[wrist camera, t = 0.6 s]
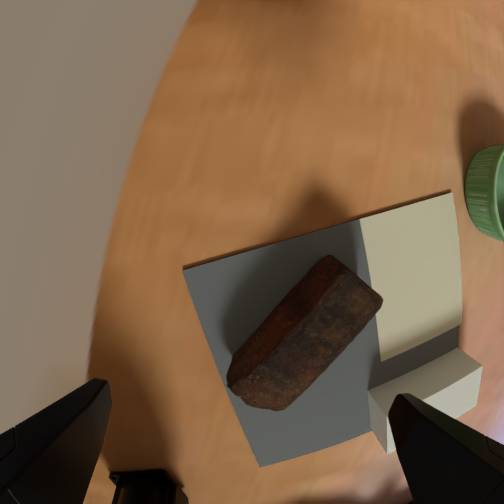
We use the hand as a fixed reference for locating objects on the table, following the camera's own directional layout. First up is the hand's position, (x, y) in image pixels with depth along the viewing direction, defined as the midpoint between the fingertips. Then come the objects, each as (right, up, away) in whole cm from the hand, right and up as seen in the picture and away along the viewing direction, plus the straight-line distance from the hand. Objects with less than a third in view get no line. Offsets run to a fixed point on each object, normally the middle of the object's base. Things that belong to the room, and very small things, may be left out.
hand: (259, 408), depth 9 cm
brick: (+3, 0, +14) cm, 14 cm away
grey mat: (+8, -3, +15) cm, 17 cm away
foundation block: (+15, -8, +17) cm, 24 cm away
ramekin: (+21, +10, +14) cm, 28 cm away
